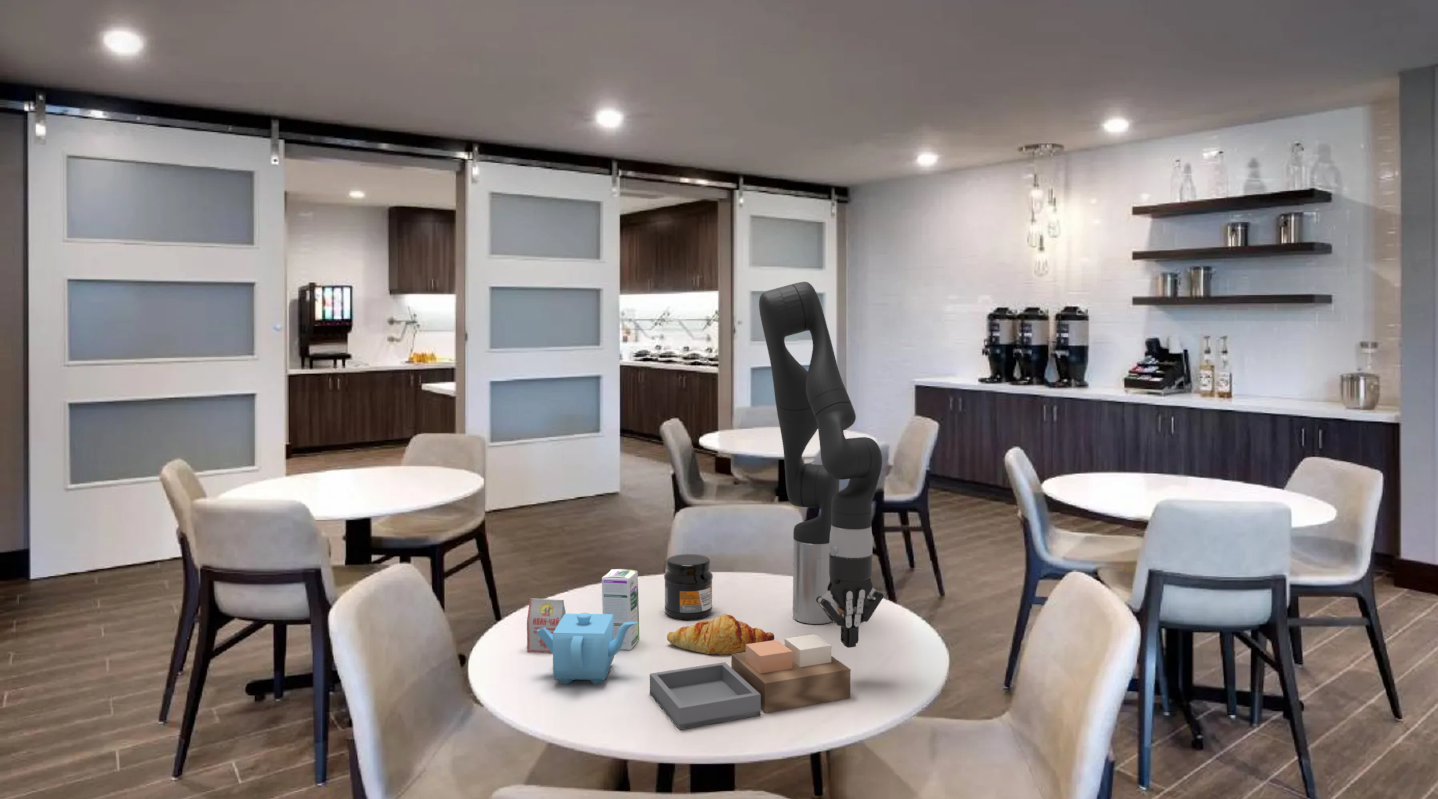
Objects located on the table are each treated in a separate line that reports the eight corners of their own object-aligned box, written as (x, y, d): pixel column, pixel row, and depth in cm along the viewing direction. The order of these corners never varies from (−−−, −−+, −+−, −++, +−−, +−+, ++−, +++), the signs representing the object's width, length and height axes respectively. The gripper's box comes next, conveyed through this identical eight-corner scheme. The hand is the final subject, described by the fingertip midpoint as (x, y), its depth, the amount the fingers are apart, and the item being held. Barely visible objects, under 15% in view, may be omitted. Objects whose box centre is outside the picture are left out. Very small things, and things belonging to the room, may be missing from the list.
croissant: (665, 668, 177) (661, 640, 173) (670, 629, 185) (667, 601, 181) (774, 669, 175) (773, 640, 171) (774, 629, 184) (774, 601, 179)
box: (725, 681, 162) (725, 662, 161) (760, 715, 148) (760, 694, 148) (649, 693, 156) (649, 673, 156) (679, 729, 143) (679, 708, 142)
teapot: (547, 659, 172) (546, 600, 171) (642, 660, 172) (642, 601, 171) (527, 693, 156) (526, 629, 155) (632, 695, 156) (631, 630, 155)
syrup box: (631, 650, 176) (630, 577, 175) (602, 648, 178) (601, 575, 176) (639, 640, 182) (639, 569, 181) (611, 638, 183) (610, 567, 182)
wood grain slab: (811, 668, 168) (811, 642, 167) (850, 697, 155) (850, 669, 154) (731, 681, 162) (731, 654, 161) (764, 713, 149) (765, 683, 148)
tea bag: (534, 645, 180) (533, 595, 179) (567, 647, 179) (566, 597, 178) (527, 651, 176) (526, 601, 175) (561, 653, 175) (560, 603, 174)
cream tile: (814, 650, 163) (814, 634, 163) (831, 662, 157) (831, 645, 157) (784, 655, 161) (784, 638, 160) (800, 667, 155) (800, 650, 155)
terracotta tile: (776, 656, 160) (777, 639, 160) (792, 668, 155) (792, 651, 154) (745, 661, 158) (745, 644, 158) (760, 673, 152) (760, 656, 152)
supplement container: (715, 620, 194) (715, 565, 193) (666, 622, 193) (666, 567, 192) (709, 604, 205) (709, 552, 204) (662, 606, 203) (662, 554, 202)
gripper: (871, 542, 167) (870, 634, 168) (807, 548, 162) (806, 644, 163) (894, 552, 160) (892, 648, 161) (828, 559, 155) (826, 658, 156)
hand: (849, 645), depth 162 cm, fingers closed
